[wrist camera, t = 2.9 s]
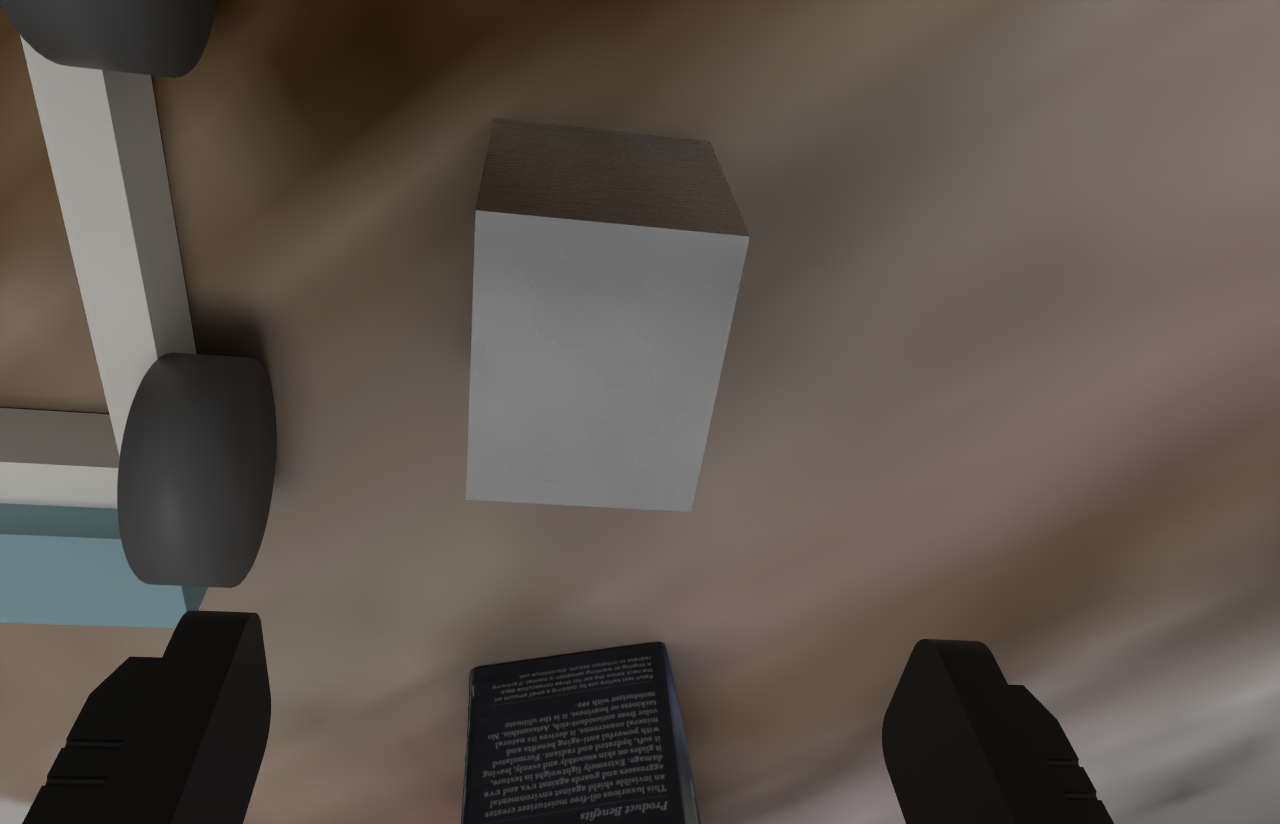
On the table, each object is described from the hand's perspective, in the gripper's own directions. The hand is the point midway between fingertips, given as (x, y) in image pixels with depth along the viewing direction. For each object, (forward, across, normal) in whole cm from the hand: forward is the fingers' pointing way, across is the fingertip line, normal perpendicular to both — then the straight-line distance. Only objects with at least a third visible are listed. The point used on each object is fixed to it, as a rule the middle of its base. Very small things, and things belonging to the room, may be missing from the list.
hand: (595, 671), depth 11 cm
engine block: (+12, 0, 0) cm, 12 cm away
